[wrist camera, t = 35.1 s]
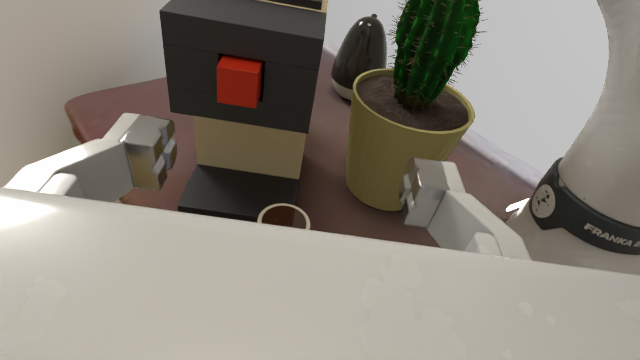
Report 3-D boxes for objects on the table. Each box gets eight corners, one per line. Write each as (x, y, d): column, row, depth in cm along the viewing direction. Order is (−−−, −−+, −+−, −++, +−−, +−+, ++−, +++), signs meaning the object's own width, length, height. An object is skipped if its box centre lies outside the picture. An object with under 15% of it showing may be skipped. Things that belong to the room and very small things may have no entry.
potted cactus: (452, 217, 55) (577, -7, 35) (350, 227, 50) (429, -23, 31) (407, 150, 65) (484, -50, 46) (320, 153, 61) (364, -67, 41)
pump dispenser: (381, 90, 81) (403, 15, 71) (374, 113, 73) (397, 34, 63) (334, 77, 81) (349, 2, 72) (322, 99, 74) (337, 18, 64)
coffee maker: (211, 138, 59) (205, -41, 43) (302, 153, 60) (330, -18, 44) (177, 214, 47) (152, 3, 31) (291, 230, 48) (324, 34, 32)
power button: (225, 85, 38) (225, 50, 36) (261, 91, 38) (264, 57, 36) (217, 102, 36) (216, 66, 33) (256, 108, 36) (258, 73, 34)
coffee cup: (301, 257, 45) (312, 206, 40) (297, 296, 42) (308, 246, 36) (257, 251, 45) (261, 199, 39) (249, 290, 41) (252, 238, 36)
